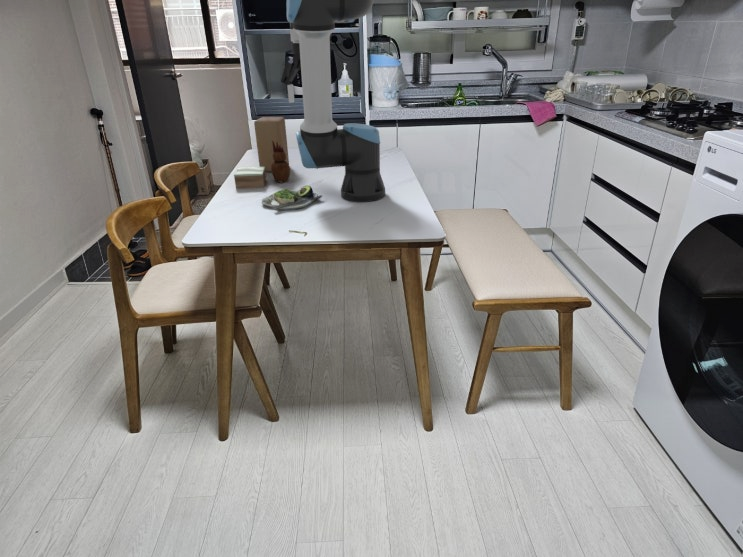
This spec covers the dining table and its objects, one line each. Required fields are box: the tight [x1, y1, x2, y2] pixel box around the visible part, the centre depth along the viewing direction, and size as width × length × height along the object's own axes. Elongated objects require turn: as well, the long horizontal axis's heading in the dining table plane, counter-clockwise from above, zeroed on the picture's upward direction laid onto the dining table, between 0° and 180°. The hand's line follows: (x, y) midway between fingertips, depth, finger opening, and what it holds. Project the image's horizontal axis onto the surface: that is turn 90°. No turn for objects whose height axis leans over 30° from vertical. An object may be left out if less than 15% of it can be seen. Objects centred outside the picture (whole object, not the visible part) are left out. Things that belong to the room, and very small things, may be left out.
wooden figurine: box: [271, 141, 291, 183], centre depth 179 cm, size 7×6×15 cm
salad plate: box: [261, 185, 323, 211], centre depth 158 cm, size 19×18×5 cm
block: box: [253, 116, 290, 173], centre depth 194 cm, size 10×10×20 cm
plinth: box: [233, 166, 267, 189], centre depth 179 cm, size 10×10×5 cm
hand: (306, 103), depth 188 cm, fingers open, 13 cm apart
